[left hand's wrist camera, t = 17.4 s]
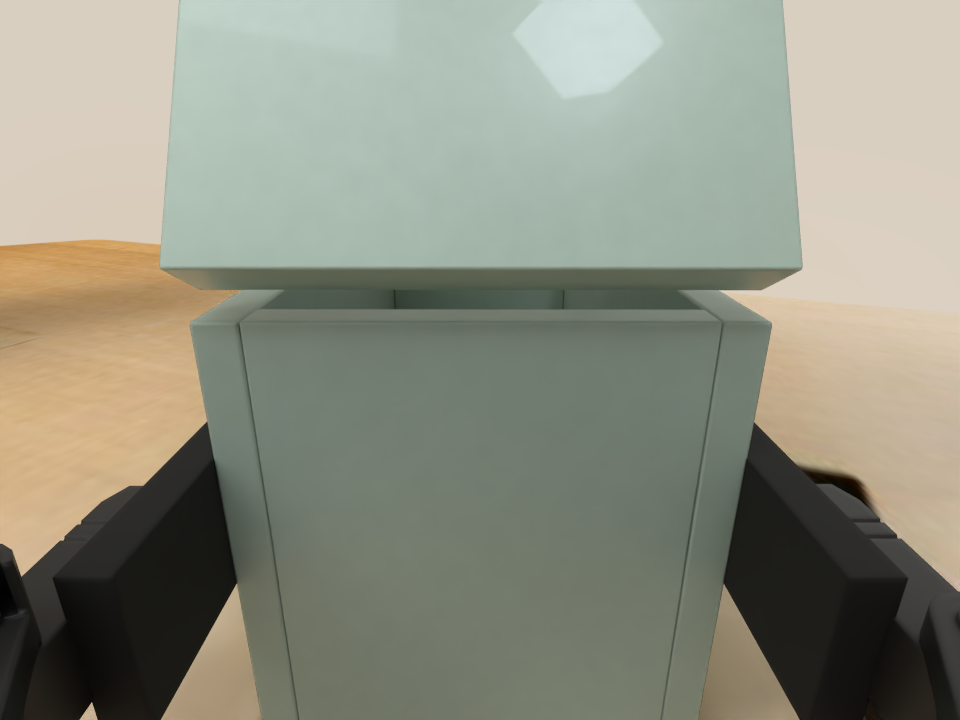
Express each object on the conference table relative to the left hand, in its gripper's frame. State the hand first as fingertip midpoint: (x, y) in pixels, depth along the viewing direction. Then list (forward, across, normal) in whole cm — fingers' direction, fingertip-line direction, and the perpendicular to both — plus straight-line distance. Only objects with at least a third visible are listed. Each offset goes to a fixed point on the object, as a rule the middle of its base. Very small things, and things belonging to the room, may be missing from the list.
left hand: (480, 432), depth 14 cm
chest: (+5, 0, -6) cm, 8 cm away
